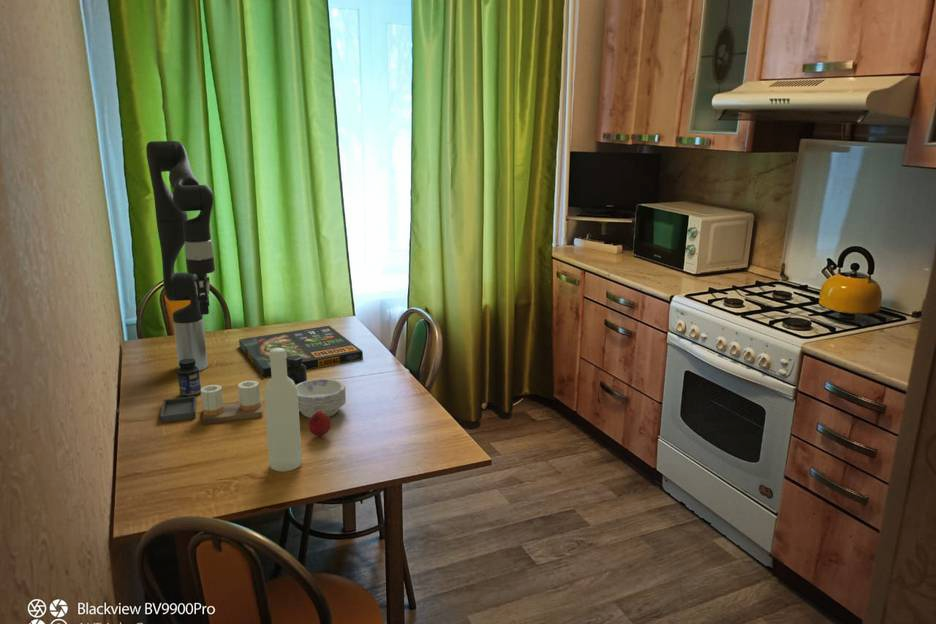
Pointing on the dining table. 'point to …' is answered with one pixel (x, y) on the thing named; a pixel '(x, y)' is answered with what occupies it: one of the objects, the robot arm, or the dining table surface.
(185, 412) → the feeder tray
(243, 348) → the pizza box
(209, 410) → the sleeve
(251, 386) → the seated sleeve
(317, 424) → the onion
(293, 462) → the bottle
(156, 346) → the dining table surface
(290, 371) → the supplement bottle
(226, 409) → the pin board
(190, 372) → the pill bottle
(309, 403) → the paper bowls
